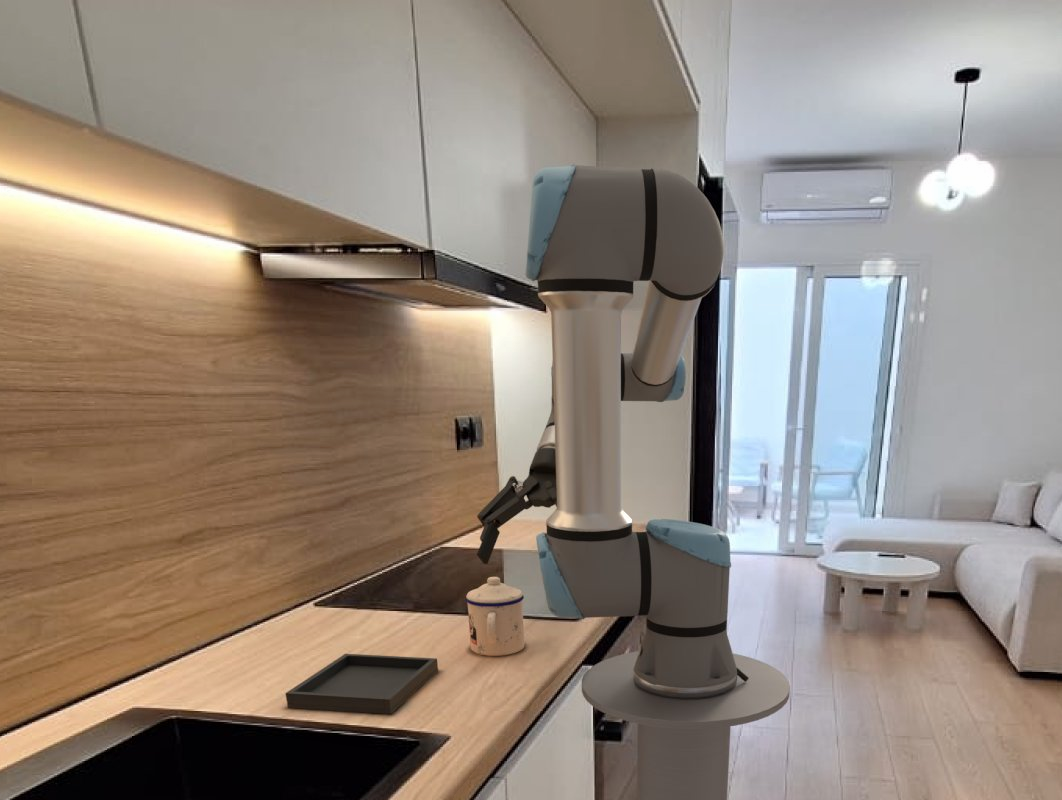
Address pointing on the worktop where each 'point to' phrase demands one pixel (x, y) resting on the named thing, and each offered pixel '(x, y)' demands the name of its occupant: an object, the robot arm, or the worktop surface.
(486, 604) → the teacup with lid
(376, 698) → the base pad
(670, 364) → the robot arm
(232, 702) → the worktop surface
